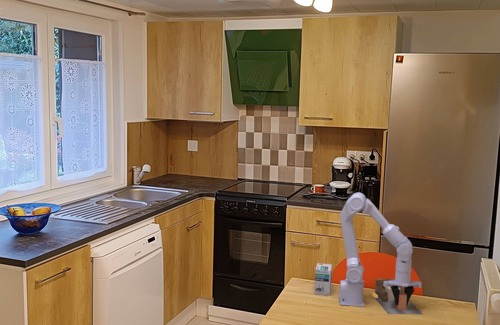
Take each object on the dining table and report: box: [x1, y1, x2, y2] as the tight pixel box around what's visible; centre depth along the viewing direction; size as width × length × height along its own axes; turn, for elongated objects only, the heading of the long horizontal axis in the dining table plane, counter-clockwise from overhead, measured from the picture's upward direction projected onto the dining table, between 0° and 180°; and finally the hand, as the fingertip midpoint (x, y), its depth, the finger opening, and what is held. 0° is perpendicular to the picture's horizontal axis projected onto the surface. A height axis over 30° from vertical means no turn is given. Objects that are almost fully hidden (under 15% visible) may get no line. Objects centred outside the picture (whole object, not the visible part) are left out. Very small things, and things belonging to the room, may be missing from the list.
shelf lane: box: [374, 278, 424, 315], centre depth 217 cm, size 14×25×6 cm, turn 3°
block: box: [385, 287, 407, 310], centre depth 217 cm, size 5×15×6 cm, turn 3°
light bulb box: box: [314, 262, 333, 296], centre depth 229 cm, size 11×7×11 cm, turn 168°
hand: (401, 304), depth 211 cm, fingers closed on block, 3 cm apart
